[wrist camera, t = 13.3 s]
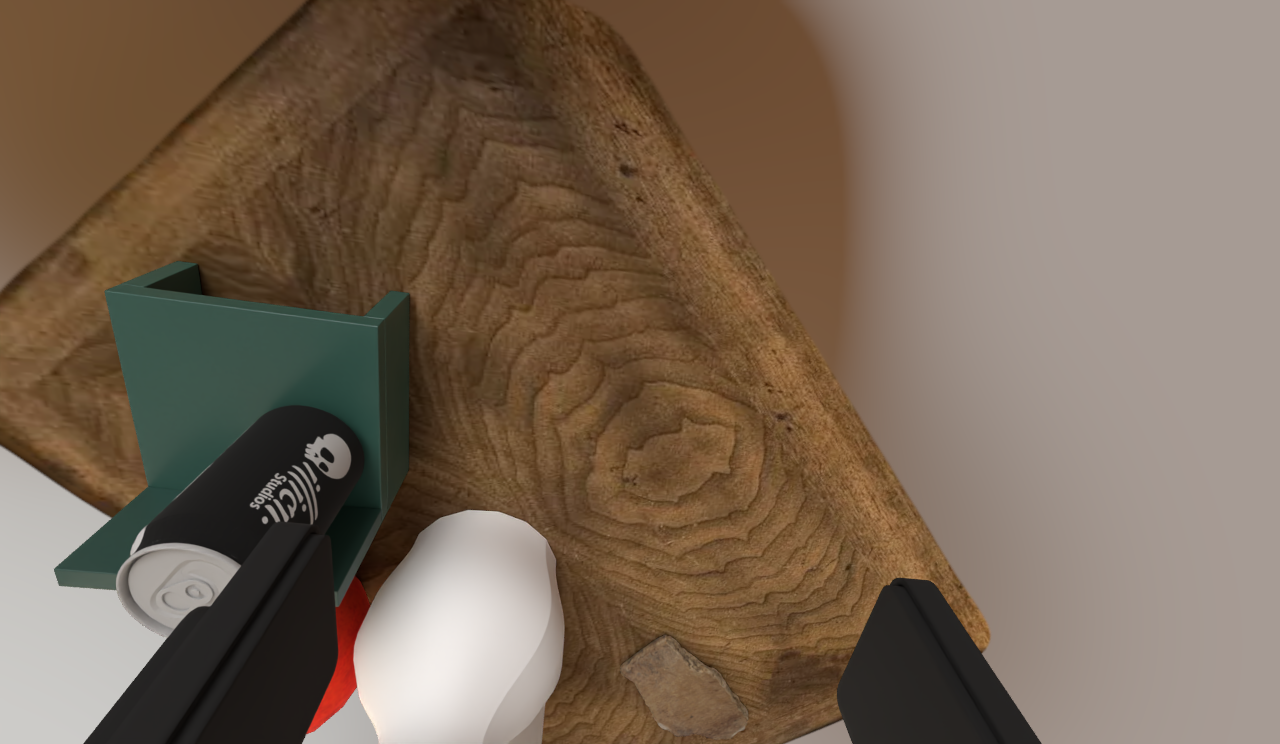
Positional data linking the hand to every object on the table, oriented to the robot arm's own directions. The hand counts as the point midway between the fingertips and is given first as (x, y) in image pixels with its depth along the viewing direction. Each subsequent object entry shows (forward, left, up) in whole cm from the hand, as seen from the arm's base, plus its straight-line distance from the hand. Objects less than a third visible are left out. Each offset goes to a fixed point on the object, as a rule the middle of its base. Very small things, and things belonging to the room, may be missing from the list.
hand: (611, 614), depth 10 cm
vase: (+29, -6, -31) cm, 43 cm away
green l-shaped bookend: (+13, -19, -30) cm, 38 cm away
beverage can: (+15, -16, -24) cm, 33 cm away
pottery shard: (+42, +14, -31) cm, 54 cm away
